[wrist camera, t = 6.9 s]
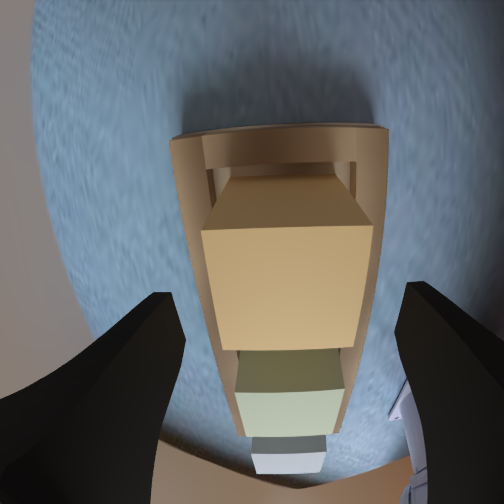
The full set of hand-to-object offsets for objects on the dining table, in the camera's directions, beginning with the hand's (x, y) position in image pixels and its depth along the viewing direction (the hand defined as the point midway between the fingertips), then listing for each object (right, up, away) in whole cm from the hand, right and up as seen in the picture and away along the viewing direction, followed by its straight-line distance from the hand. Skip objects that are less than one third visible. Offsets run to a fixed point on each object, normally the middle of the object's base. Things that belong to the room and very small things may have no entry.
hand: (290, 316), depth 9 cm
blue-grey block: (+2, -11, +14) cm, 17 cm away
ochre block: (0, +3, +6) cm, 7 cm away
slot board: (+1, -3, +11) cm, 12 cm away
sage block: (+1, -4, +10) cm, 10 cm away
